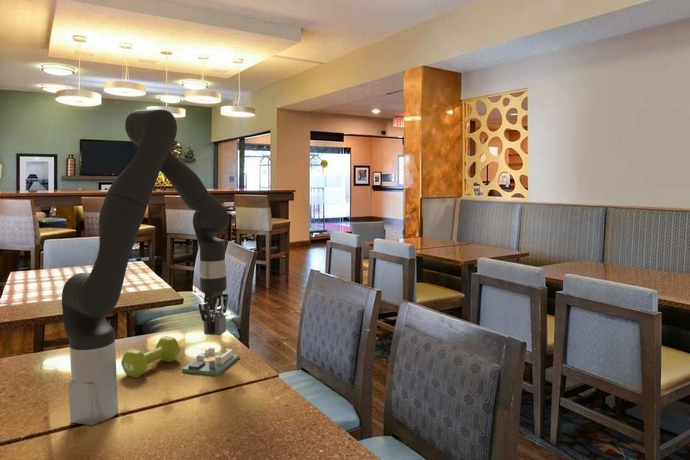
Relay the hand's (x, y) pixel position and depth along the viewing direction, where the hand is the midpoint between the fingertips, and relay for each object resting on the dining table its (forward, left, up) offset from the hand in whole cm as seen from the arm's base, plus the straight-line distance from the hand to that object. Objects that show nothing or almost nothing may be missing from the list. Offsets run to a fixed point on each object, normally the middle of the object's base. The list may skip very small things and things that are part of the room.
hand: (215, 331), depth 144 cm
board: (-2, 0, -10) cm, 10 cm away
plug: (0, 0, -1) cm, 1 cm away
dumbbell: (-8, +16, -10) cm, 20 cm away
